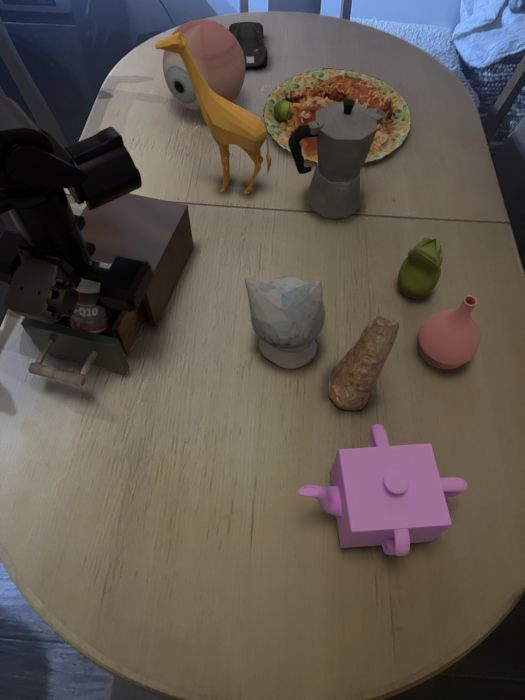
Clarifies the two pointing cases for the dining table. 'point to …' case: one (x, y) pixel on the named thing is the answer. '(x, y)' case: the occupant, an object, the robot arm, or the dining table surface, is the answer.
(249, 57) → the toy car
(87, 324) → the pill bottle
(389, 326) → the brown tapered rod
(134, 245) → the cabinet
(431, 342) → the pink vase
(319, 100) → the rice dish
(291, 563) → the dining table surface
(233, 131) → the giraffe
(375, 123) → the coffeepot
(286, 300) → the figurine
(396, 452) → the teapot
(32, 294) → the robot arm
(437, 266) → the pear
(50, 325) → the drawer
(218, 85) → the eyeball
